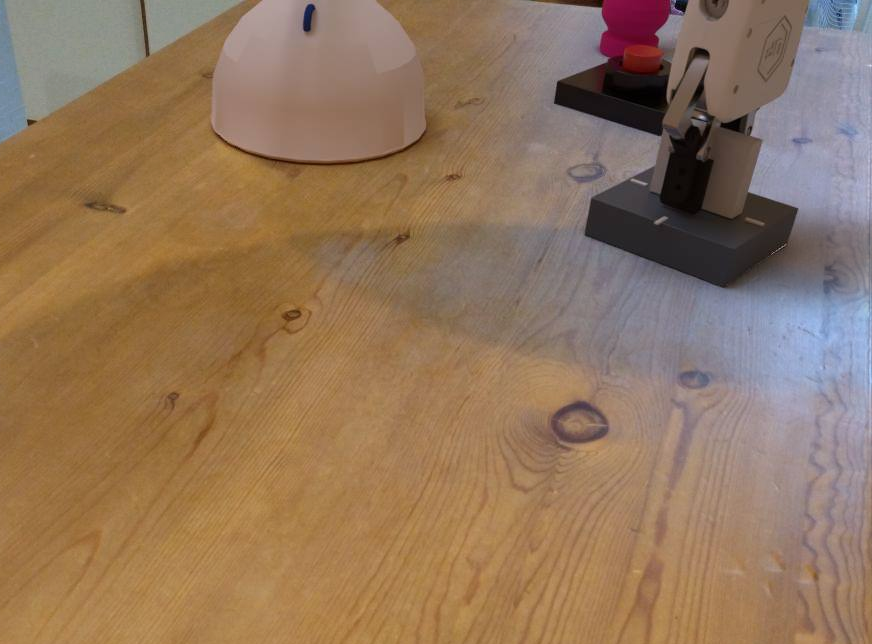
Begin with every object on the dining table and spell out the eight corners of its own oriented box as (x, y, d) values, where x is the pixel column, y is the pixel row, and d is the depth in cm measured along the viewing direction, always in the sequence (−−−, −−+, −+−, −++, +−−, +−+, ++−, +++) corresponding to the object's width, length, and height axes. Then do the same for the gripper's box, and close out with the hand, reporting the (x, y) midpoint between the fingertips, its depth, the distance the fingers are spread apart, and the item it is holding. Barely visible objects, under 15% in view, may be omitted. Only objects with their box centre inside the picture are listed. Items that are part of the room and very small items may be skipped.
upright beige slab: (742, 213, 79) (764, 136, 75) (731, 219, 78) (753, 141, 74) (659, 185, 82) (677, 110, 79) (648, 191, 82) (665, 115, 78)
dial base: (790, 242, 82) (803, 203, 80) (719, 290, 76) (731, 249, 74) (655, 196, 88) (663, 159, 86) (579, 236, 82) (586, 197, 80)
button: (666, 70, 102) (670, 51, 101) (646, 78, 100) (650, 58, 99) (634, 61, 104) (637, 42, 103) (614, 69, 102) (617, 50, 101)
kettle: (437, 95, 106) (454, -114, 94) (412, 175, 91) (430, -63, 79) (240, 79, 109) (233, -127, 97) (183, 154, 93) (167, -80, 81)
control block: (712, 111, 104) (723, 68, 102) (659, 136, 99) (669, 92, 96) (608, 81, 111) (616, 40, 108) (553, 103, 105) (559, 61, 102)
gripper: (758, -46, 62) (683, 249, 74) (876, -84, 71) (792, 183, 83) (646, -68, 65) (591, 215, 77) (772, -102, 75) (706, 156, 87)
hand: (696, 196), depth 80 cm, fingers open, 4 cm apart
